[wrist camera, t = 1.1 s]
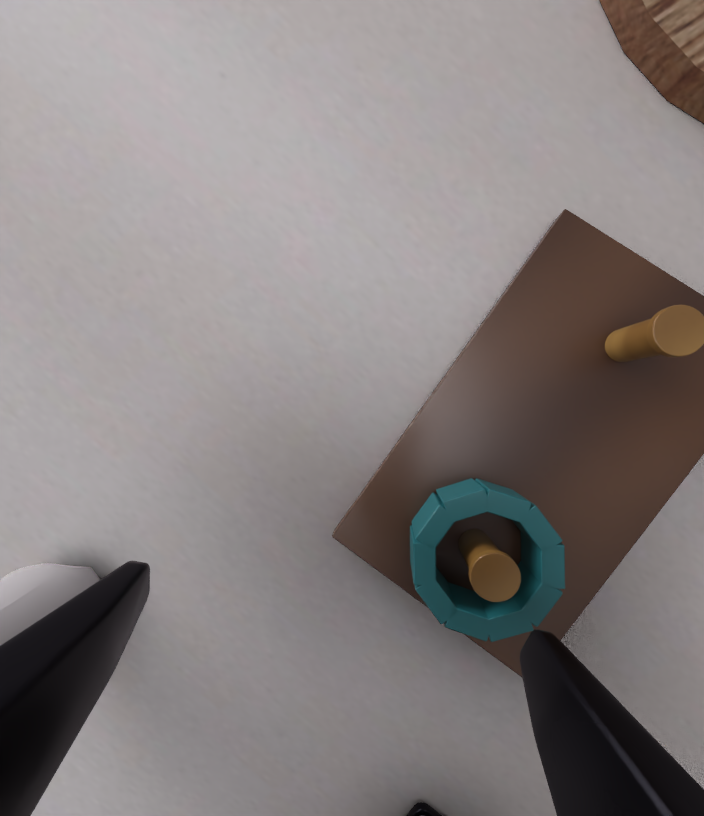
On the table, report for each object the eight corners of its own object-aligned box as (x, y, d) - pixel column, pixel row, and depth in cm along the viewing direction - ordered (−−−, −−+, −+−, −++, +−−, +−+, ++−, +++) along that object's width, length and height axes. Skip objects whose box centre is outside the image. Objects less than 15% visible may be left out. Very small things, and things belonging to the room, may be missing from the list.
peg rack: (765, 350, 19) (890, 331, 14) (521, 668, 20) (562, 749, 16) (556, 218, 20) (609, 159, 15) (334, 530, 21) (318, 566, 16)
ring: (569, 529, 19) (598, 549, 16) (489, 636, 19) (504, 671, 17) (460, 453, 20) (471, 460, 17) (383, 559, 20) (383, 581, 17)
